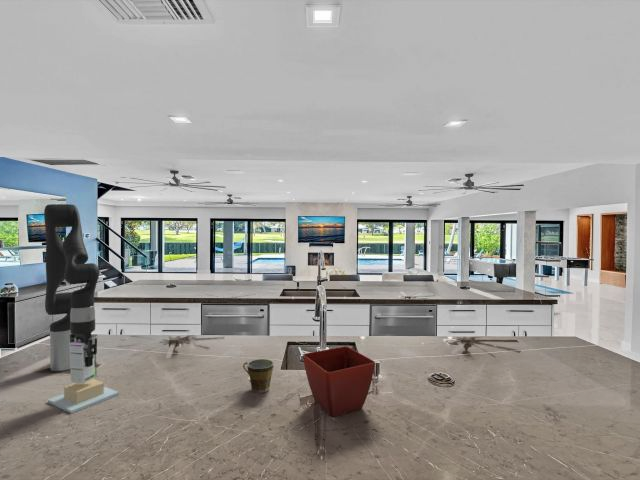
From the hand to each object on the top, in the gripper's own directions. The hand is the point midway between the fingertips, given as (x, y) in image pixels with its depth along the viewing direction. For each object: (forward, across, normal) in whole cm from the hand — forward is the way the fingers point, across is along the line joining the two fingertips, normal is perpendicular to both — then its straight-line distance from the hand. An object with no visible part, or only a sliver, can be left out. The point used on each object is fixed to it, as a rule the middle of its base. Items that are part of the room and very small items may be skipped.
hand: (83, 364), depth 130 cm
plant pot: (+13, +82, +42) cm, 93 cm away
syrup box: (+6, 0, 0) cm, 6 cm away
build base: (+13, 0, 0) cm, 13 cm away
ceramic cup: (+13, +49, +38) cm, 63 cm away
